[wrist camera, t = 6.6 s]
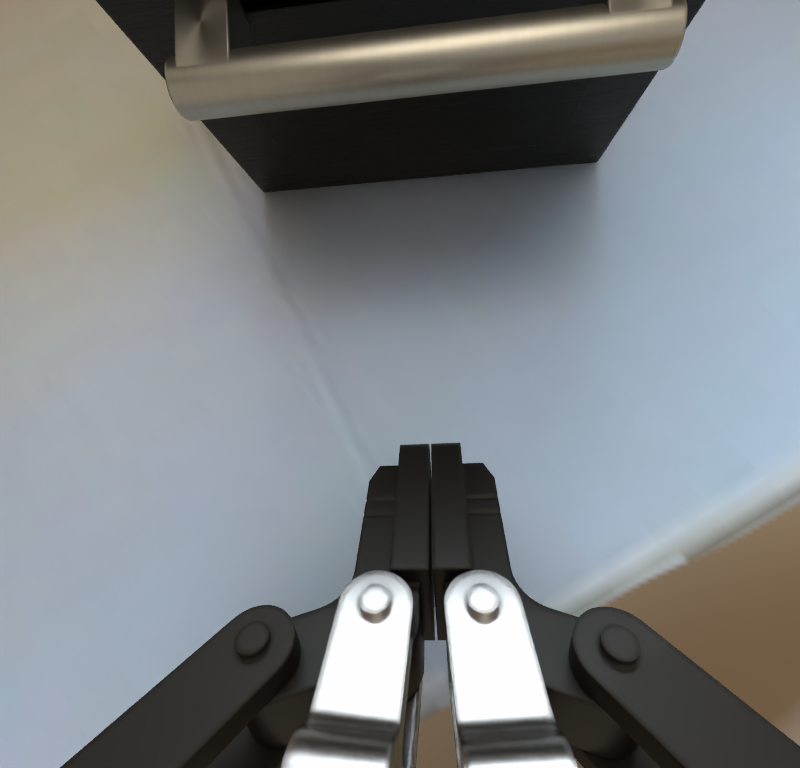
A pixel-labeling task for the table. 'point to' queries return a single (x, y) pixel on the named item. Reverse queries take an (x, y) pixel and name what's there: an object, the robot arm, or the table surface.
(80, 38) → the table surface
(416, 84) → the oven door
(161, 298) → the table surface
